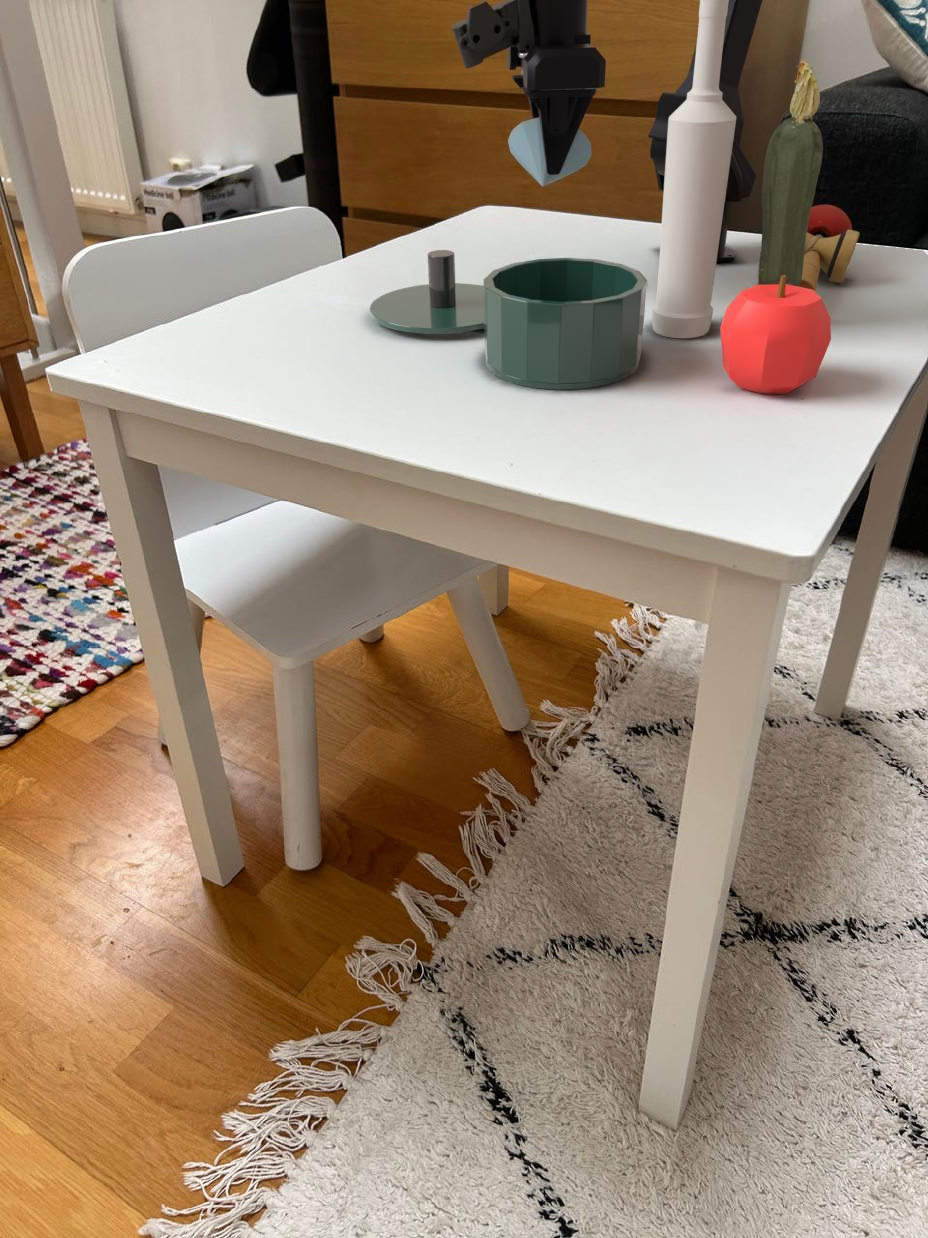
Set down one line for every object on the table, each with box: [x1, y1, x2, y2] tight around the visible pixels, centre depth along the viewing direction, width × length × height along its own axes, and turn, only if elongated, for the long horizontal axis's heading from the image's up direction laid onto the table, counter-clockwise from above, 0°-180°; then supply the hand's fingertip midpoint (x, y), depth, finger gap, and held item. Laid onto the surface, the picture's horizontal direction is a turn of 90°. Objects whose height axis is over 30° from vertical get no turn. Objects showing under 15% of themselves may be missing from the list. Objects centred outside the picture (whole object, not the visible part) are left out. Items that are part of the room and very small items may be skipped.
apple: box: [719, 275, 832, 395], centre depth 71 cm, size 8×8×8 cm
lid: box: [369, 249, 484, 335], centre depth 87 cm, size 13×13×6 cm
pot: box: [483, 257, 648, 391], centre depth 76 cm, size 12×12×6 cm
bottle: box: [651, 0, 736, 339], centre depth 76 cm, size 5×5×25 cm
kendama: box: [800, 204, 860, 293], centre depth 92 cm, size 8×6×18 cm
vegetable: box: [757, 59, 824, 287], centre depth 78 cm, size 4×4×20 cm
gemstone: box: [507, 118, 593, 188], centre depth 86 cm, size 8×8×5 cm
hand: (549, 168), depth 87 cm, fingers closed on gemstone, 5 cm apart
